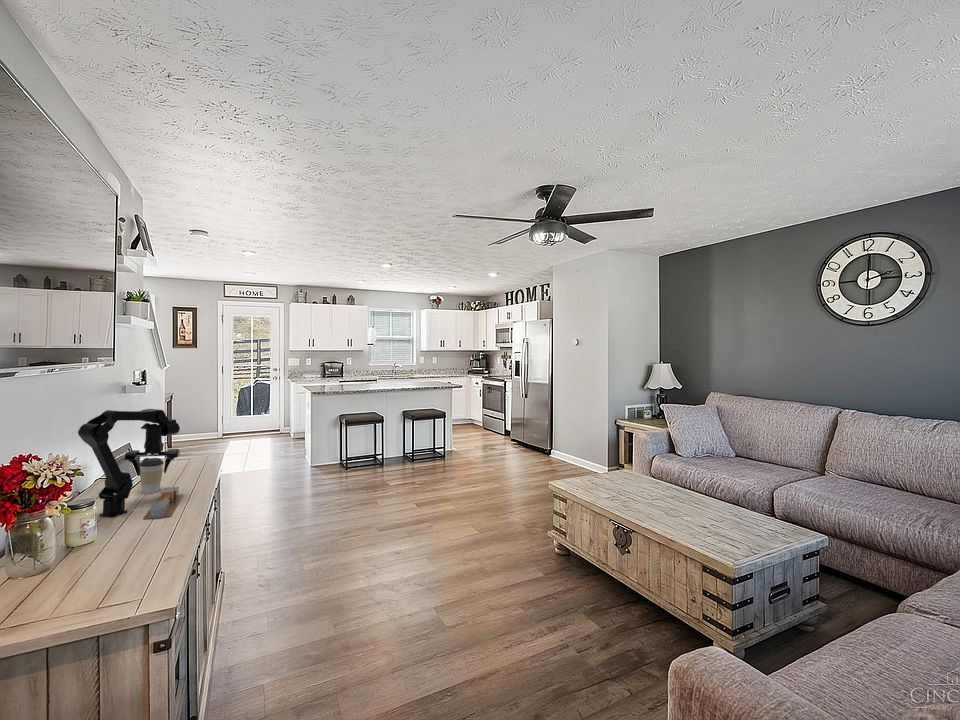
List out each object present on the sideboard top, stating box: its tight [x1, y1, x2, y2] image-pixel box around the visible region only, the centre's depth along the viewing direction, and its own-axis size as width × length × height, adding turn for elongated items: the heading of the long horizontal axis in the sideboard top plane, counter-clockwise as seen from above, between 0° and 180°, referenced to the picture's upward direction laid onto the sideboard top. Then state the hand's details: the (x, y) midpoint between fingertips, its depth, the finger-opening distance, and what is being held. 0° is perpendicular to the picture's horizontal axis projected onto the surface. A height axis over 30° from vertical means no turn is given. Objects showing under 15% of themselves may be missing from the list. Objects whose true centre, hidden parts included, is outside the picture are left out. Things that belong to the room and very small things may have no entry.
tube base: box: [143, 486, 185, 520], centre depth 191 cm, size 28×9×4 cm, turn 24°
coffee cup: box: [139, 457, 164, 494], centre depth 209 cm, size 9×9×15 cm
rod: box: [160, 490, 174, 502], centre depth 193 cm, size 16×4×4 cm, turn 24°
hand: (152, 473), depth 196 cm, fingers open, 9 cm apart
